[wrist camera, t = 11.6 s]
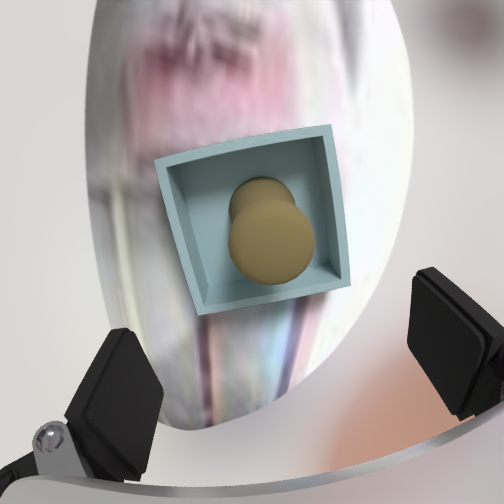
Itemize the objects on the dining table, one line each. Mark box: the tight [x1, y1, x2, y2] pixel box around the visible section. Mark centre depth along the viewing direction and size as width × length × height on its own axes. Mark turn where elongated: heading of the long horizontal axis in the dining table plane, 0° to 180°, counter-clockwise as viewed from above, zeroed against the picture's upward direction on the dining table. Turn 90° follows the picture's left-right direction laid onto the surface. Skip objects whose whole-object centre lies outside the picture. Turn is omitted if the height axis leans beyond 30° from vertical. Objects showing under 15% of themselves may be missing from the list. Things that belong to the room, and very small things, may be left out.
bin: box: [154, 124, 351, 315], centre depth 25 cm, size 14×14×4 cm
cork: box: [228, 176, 315, 286], centre depth 22 cm, size 6×6×11 cm
